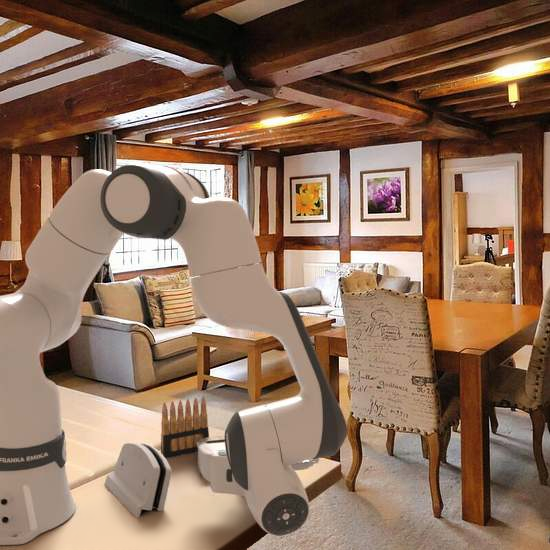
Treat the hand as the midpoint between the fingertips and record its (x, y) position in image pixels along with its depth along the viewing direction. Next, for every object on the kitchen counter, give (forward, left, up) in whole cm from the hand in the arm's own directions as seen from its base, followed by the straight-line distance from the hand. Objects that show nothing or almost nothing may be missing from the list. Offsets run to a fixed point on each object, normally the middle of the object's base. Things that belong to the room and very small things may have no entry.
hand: (248, 438), depth 109 cm
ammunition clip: (-11, +19, -9) cm, 24 cm away
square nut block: (-4, +11, -9) cm, 15 cm away
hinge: (-21, +2, -9) cm, 23 cm away
